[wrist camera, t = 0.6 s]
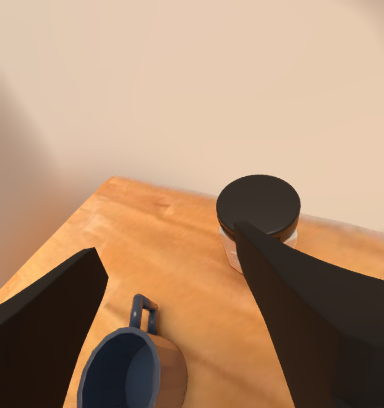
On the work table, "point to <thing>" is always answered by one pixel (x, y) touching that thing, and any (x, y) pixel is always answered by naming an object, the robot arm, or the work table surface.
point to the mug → (134, 367)
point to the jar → (258, 210)
